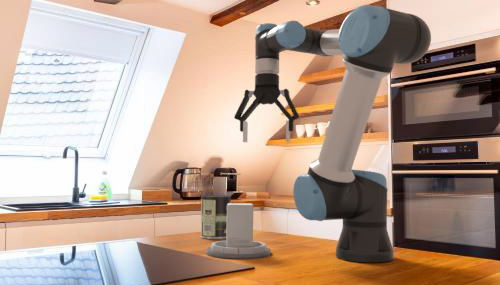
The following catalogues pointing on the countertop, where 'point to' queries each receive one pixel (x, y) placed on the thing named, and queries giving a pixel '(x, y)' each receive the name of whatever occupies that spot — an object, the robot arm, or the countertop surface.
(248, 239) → the supplement box
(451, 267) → the countertop surface
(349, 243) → the robot arm
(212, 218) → the coffee can
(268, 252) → the collar plate
